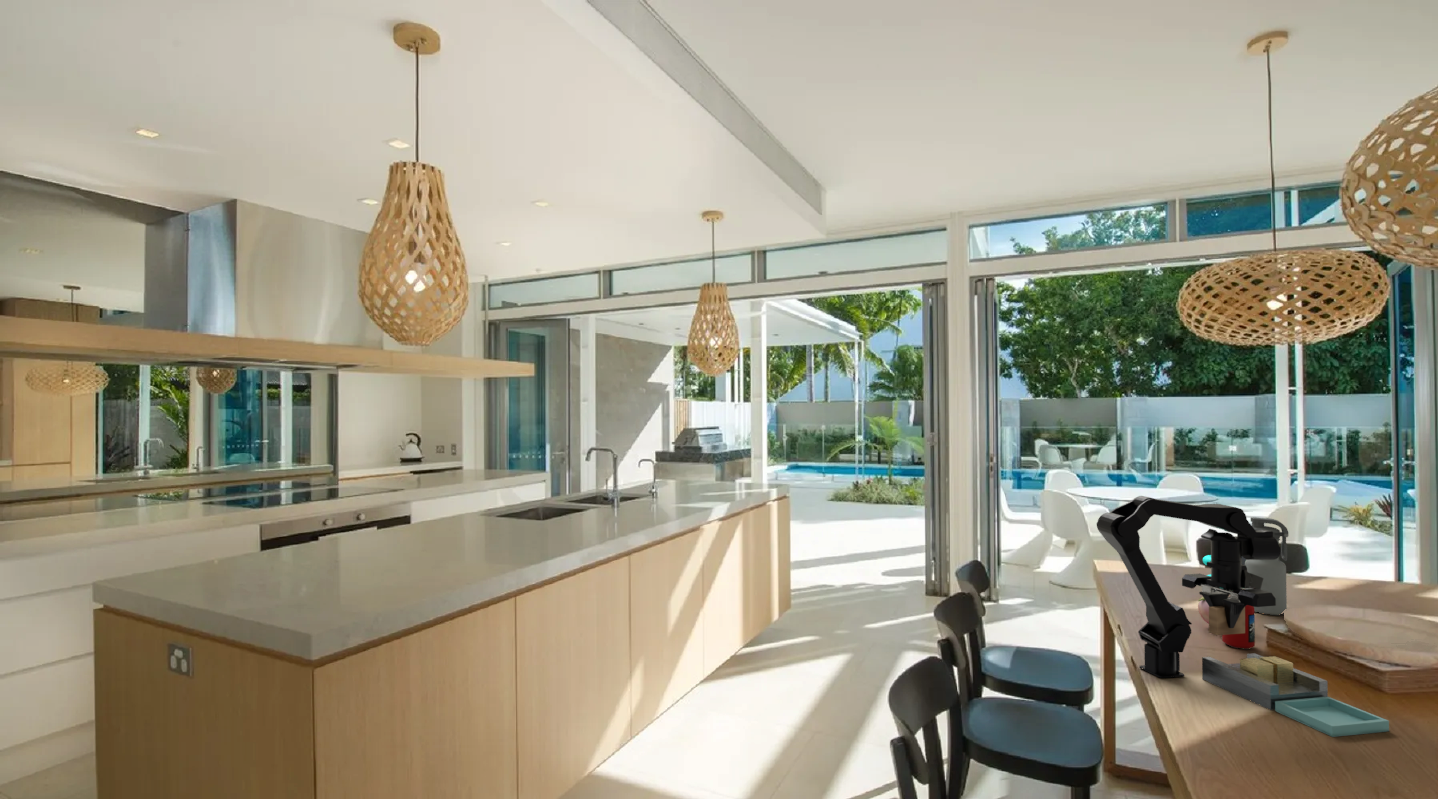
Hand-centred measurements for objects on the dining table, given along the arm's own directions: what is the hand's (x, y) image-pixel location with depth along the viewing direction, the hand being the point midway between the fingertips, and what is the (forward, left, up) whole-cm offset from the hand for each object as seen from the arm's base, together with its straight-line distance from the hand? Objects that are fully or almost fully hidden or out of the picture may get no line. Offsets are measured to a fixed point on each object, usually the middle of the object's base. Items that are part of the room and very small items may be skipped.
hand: (1226, 626), depth 158 cm
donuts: (+67, +66, -11) cm, 95 cm away
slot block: (-2, -10, -11) cm, 15 cm away
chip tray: (-2, -24, -11) cm, 26 cm away
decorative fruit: (+26, +28, -11) cm, 40 cm away
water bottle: (+55, +39, -11) cm, 69 cm away
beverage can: (+19, +15, -11) cm, 27 cm away
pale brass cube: (-4, -11, -8) cm, 14 cm away
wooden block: (0, 0, -2) cm, 2 cm away
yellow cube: (+1, -11, -8) cm, 14 cm away
